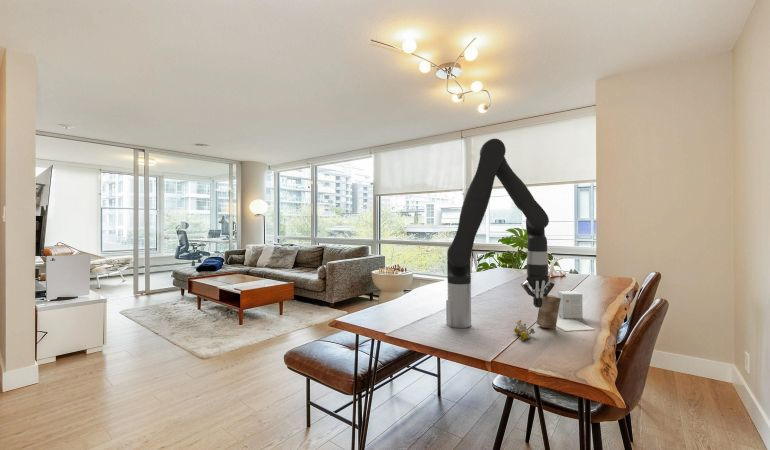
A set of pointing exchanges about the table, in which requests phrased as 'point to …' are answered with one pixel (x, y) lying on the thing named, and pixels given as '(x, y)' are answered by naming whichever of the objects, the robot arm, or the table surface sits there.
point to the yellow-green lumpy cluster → (523, 330)
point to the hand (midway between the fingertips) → (537, 307)
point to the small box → (570, 304)
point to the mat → (572, 325)
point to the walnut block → (548, 312)
